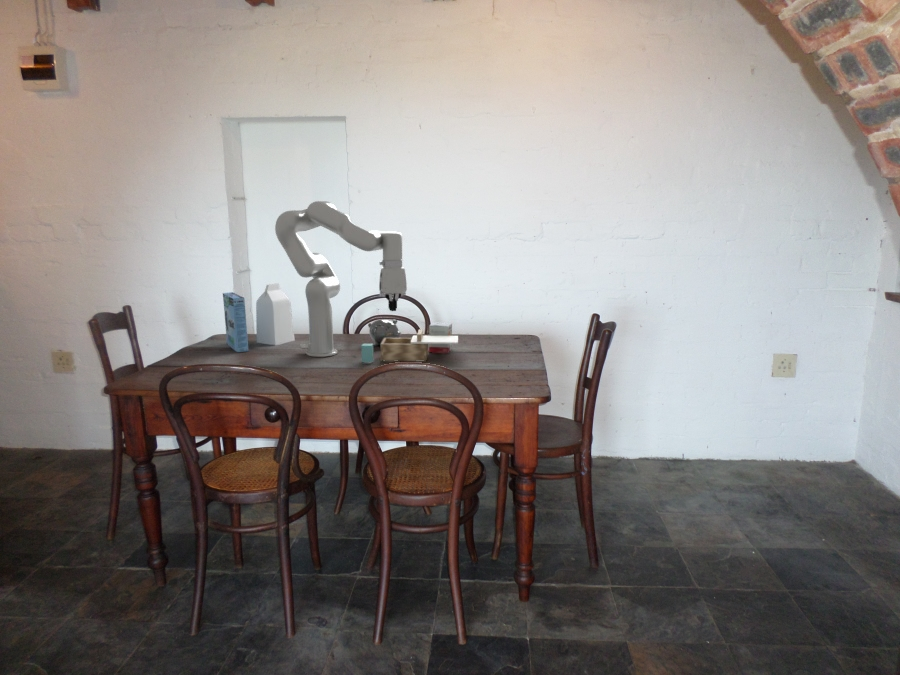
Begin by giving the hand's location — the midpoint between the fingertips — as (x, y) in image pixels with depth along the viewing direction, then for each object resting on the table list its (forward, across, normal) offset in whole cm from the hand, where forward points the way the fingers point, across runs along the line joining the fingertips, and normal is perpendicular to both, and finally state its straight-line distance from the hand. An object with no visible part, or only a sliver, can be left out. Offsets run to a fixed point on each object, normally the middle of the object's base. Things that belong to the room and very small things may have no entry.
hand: (392, 310), depth 249 cm
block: (+20, -11, 0) cm, 23 cm away
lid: (+12, +16, -6) cm, 21 cm away
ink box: (+20, +23, +4) cm, 31 cm away
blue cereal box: (+21, -53, +48) cm, 75 cm away
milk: (+21, -35, +54) cm, 67 cm away
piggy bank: (+20, +6, +25) cm, 32 cm away
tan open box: (+20, +5, -1) cm, 20 cm away
